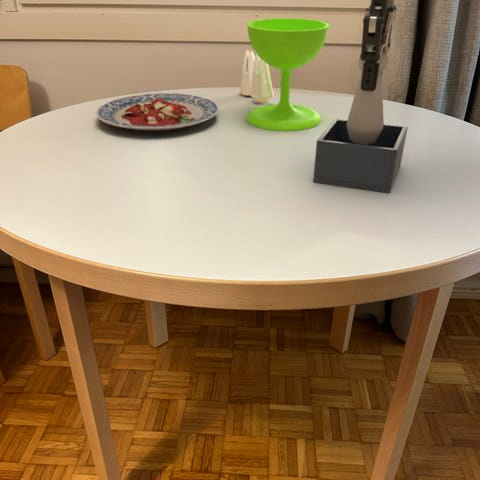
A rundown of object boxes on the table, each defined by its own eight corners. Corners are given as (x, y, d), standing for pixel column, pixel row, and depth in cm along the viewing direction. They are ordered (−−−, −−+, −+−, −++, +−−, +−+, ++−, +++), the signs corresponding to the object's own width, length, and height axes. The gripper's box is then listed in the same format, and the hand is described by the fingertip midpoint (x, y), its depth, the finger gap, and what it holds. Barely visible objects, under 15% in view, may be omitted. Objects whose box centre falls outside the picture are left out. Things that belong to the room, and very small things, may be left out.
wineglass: (332, 115, 116) (342, 22, 105) (301, 135, 105) (307, 34, 94) (268, 104, 123) (271, 16, 112) (232, 122, 112) (231, 26, 101)
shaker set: (274, 104, 123) (276, 52, 116) (258, 106, 122) (259, 53, 115) (254, 92, 132) (255, 42, 125) (238, 93, 131) (238, 43, 124)
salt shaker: (380, 135, 88) (394, 48, 80) (381, 147, 83) (396, 56, 75) (345, 133, 89) (355, 47, 81) (344, 144, 84) (354, 55, 76)
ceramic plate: (75, 118, 114) (72, 104, 113) (171, 97, 128) (170, 84, 126) (142, 148, 99) (140, 132, 97) (243, 120, 113) (243, 106, 111)
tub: (400, 165, 92) (407, 126, 88) (389, 193, 83) (397, 150, 79) (330, 156, 96) (334, 118, 92) (313, 182, 87) (316, 140, 82)
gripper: (412, -47, 64) (388, 100, 75) (424, -52, 75) (402, 78, 85) (351, -48, 66) (336, 95, 77) (371, -52, 77) (355, 74, 87)
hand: (370, 85), depth 81 cm, fingers closed on salt shaker, 4 cm apart
